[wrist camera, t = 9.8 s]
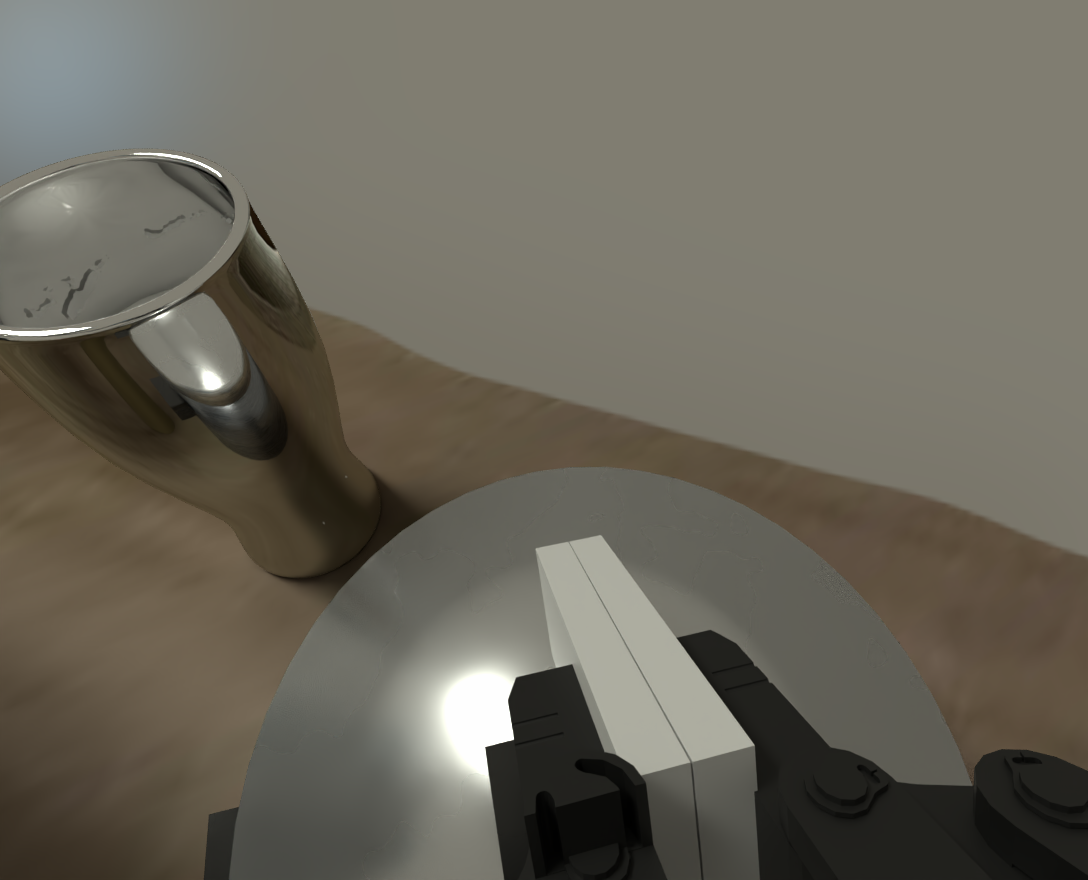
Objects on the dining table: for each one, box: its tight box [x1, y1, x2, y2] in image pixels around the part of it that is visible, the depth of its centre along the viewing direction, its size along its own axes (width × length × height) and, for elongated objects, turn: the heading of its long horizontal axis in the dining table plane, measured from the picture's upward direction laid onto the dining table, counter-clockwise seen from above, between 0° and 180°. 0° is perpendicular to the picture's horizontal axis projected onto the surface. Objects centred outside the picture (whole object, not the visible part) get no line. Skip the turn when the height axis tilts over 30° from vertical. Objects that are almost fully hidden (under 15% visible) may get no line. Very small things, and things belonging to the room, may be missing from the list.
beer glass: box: [0, 149, 381, 578], centre depth 19 cm, size 7×7×15 cm
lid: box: [229, 467, 972, 880], centre depth 12 cm, size 16×16×2 cm
